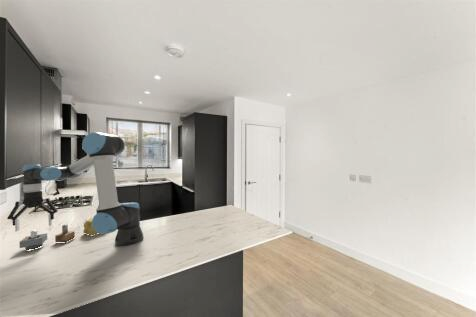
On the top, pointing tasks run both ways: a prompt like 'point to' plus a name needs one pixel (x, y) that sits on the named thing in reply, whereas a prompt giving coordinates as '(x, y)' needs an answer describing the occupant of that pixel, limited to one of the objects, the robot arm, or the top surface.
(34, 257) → the top surface
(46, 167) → the robot arm
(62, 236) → the stand
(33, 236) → the hub
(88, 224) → the cheese
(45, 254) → the top surface
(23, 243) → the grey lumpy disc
